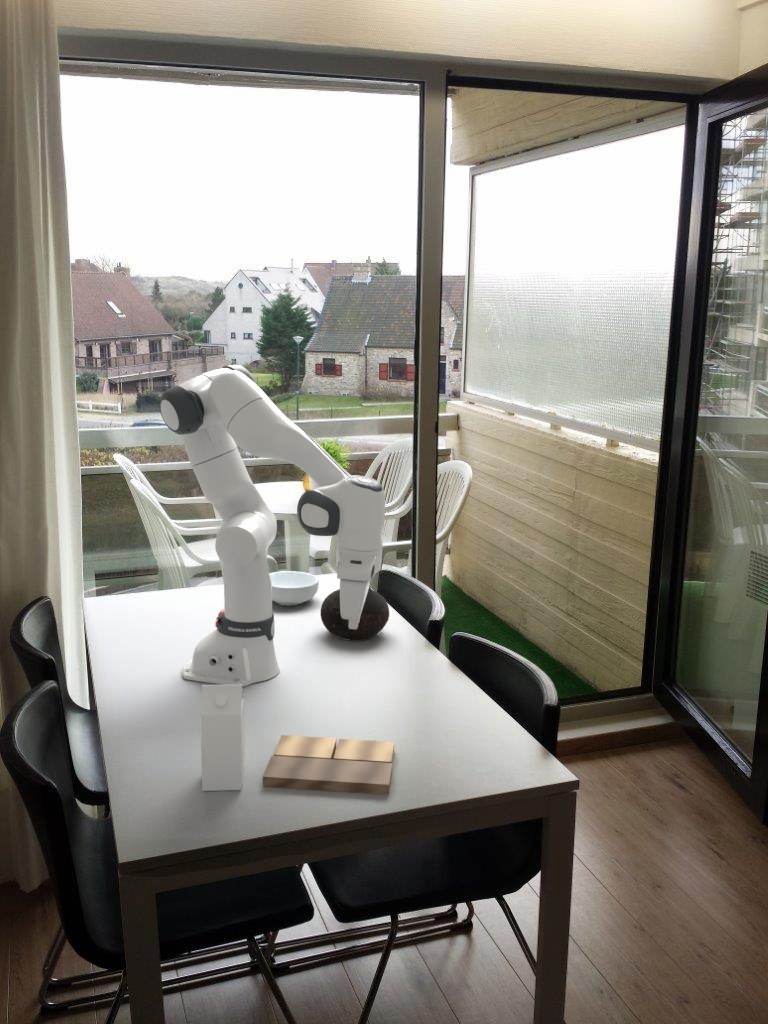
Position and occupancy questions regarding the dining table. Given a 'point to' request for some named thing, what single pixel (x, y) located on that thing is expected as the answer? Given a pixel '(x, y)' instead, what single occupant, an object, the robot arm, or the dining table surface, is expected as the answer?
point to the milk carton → (222, 737)
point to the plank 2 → (364, 750)
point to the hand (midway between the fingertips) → (353, 625)
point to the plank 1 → (306, 747)
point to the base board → (328, 775)
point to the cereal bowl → (293, 587)
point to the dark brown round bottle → (370, 619)
